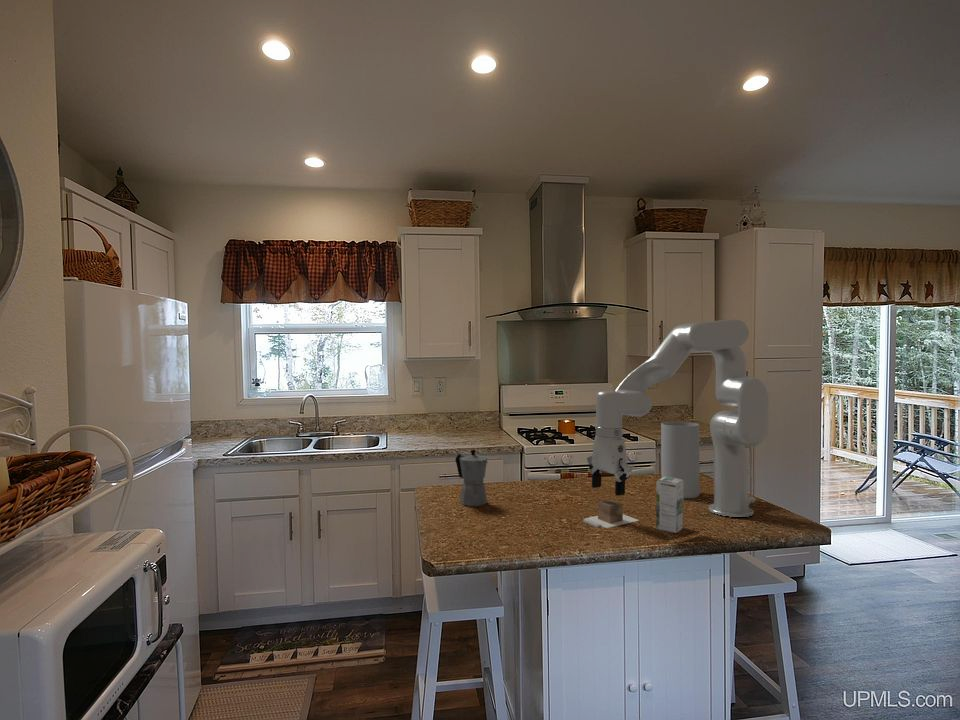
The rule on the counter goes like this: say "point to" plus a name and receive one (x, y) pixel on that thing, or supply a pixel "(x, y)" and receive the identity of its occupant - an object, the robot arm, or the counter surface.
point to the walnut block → (610, 511)
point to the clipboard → (598, 523)
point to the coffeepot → (472, 478)
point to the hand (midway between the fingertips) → (607, 491)
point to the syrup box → (669, 504)
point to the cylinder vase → (681, 455)
